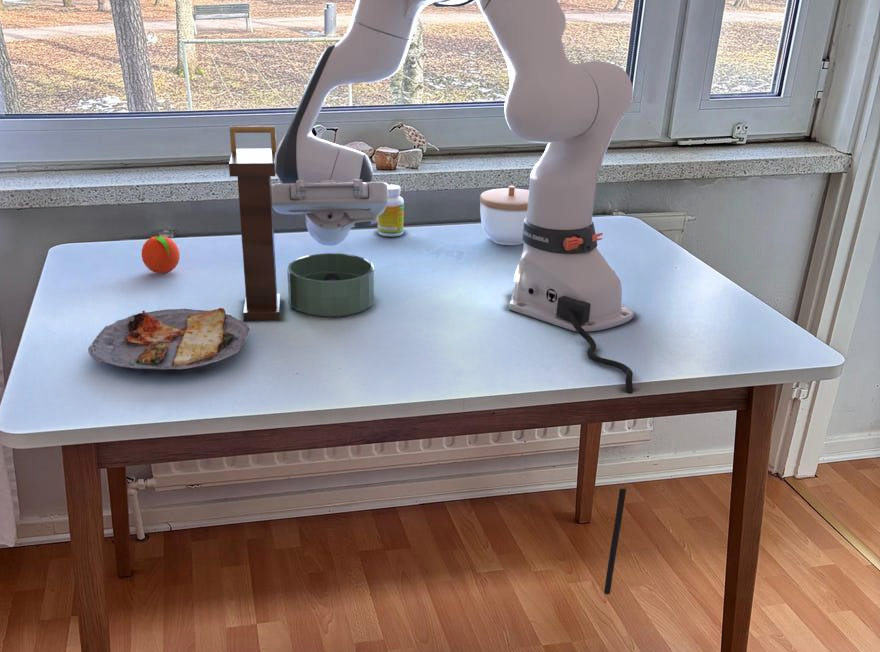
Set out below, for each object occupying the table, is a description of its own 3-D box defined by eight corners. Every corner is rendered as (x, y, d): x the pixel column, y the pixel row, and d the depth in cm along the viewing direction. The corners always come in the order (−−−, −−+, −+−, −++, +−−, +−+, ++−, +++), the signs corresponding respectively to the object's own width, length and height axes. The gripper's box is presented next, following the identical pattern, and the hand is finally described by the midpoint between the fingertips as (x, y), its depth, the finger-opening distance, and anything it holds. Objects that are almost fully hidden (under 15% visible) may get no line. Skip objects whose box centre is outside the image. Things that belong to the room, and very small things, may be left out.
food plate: (121, 318, 168) (118, 298, 166) (259, 321, 167) (257, 301, 165) (74, 381, 146) (70, 359, 144) (233, 385, 146) (231, 363, 144)
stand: (243, 301, 175) (230, 123, 160) (284, 300, 176) (275, 123, 160) (239, 322, 167) (226, 137, 151) (283, 321, 167) (273, 137, 152)
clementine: (189, 276, 186) (186, 238, 182) (154, 283, 182) (150, 244, 179) (172, 264, 191) (168, 227, 188) (138, 270, 188) (133, 233, 184)
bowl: (390, 307, 173) (390, 271, 170) (316, 324, 166) (315, 287, 163) (345, 282, 184) (344, 248, 180) (274, 298, 176) (272, 262, 173)
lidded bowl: (474, 247, 203) (477, 192, 197) (480, 229, 213) (483, 177, 208) (537, 251, 201) (542, 196, 195) (540, 233, 212) (544, 180, 206)
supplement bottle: (403, 237, 208) (403, 190, 203) (377, 237, 208) (377, 189, 203) (403, 229, 212) (404, 183, 207) (378, 229, 212) (378, 183, 207)
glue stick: (324, 288, 180) (323, 273, 178) (339, 288, 180) (339, 273, 178) (325, 312, 170) (325, 296, 168) (341, 311, 170) (341, 296, 168)
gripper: (270, 190, 178) (265, 166, 164) (384, 188, 180) (389, 164, 166) (271, 225, 178) (267, 204, 164) (385, 223, 180) (390, 202, 166)
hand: (329, 184), depth 165 cm, fingers open, 8 cm apart
